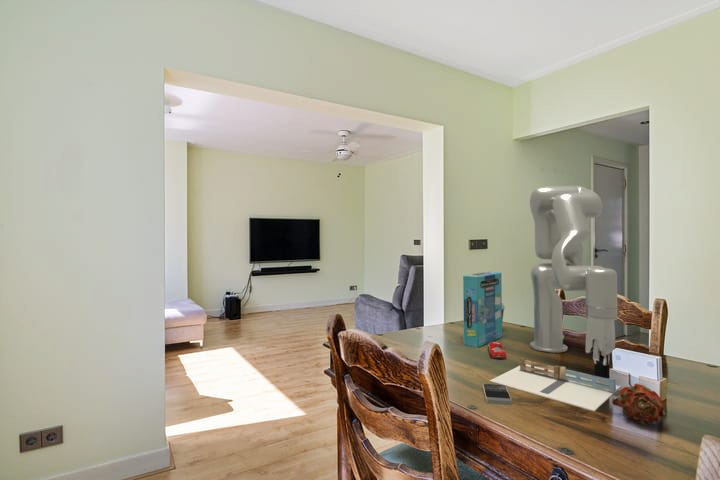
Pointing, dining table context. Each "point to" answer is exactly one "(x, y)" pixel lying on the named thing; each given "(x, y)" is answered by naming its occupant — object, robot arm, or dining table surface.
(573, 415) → the dining table surface
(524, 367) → the fence section
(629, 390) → the dragon fruit
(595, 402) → the card
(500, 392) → the cell phone
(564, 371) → the panel
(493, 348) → the race car
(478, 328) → the game box
